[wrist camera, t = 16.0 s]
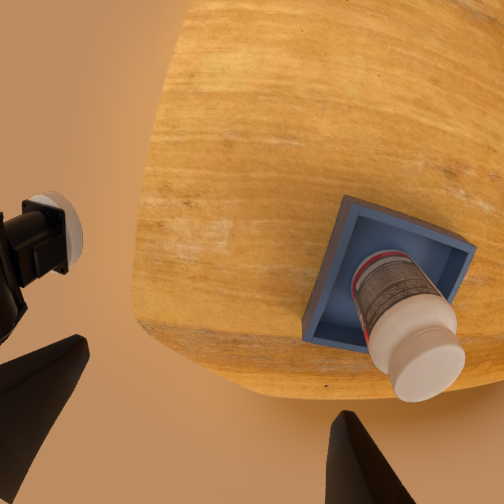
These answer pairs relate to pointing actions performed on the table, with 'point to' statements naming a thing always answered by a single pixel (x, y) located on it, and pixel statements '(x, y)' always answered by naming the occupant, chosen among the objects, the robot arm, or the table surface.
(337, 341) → the tray
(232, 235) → the table surface
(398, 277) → the pill bottle
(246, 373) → the table surface
